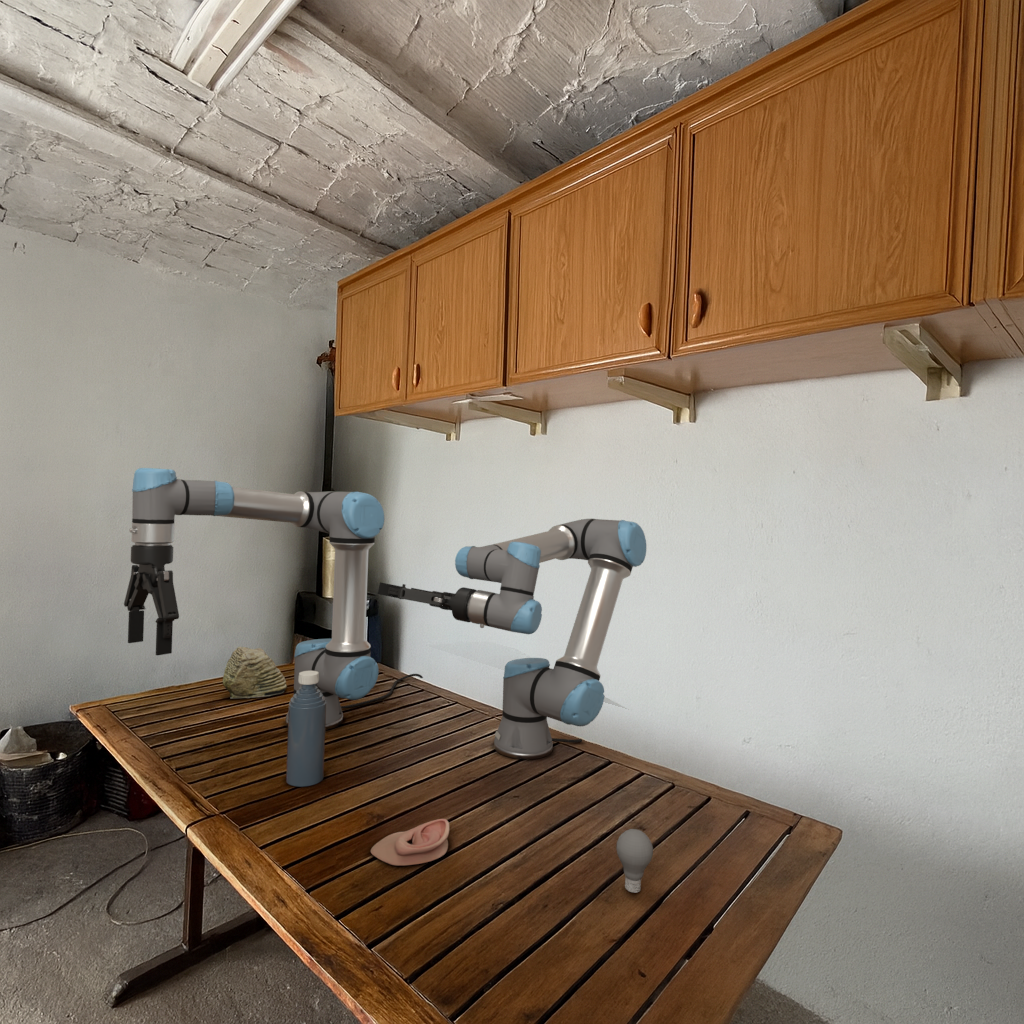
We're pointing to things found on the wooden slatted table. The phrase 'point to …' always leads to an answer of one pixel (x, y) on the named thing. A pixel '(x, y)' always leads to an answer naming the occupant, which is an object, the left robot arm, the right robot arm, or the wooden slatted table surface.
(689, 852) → the wooden slatted table surface
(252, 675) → the fossil
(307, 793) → the wooden slatted table surface
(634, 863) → the light bulb
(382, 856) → the anatomical model
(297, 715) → the bottle
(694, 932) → the wooden slatted table surface
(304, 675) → the cap
